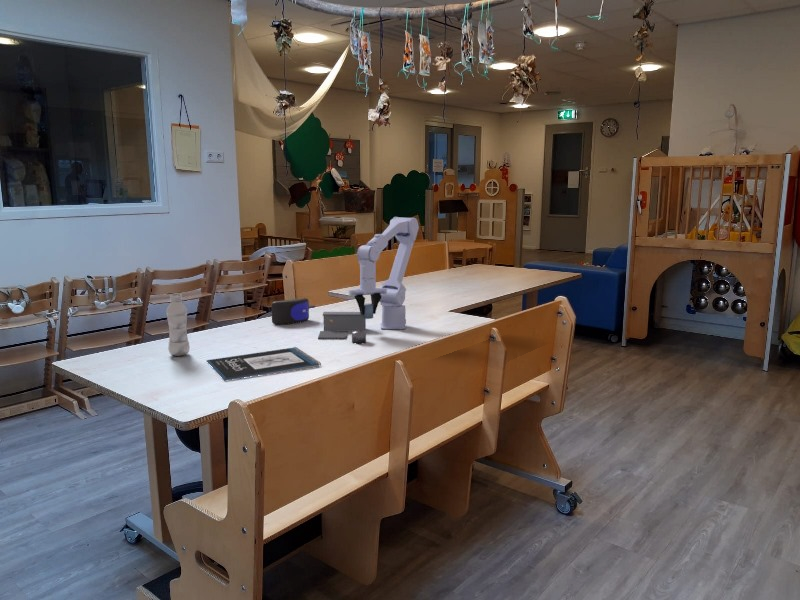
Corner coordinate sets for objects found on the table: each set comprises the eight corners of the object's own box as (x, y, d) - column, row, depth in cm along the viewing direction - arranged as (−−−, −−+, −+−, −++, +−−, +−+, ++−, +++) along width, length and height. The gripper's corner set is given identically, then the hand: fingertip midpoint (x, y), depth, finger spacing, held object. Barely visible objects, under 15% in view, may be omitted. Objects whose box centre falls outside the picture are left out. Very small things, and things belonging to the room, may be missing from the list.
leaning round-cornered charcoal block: (276, 326, 238) (275, 303, 237) (271, 324, 242) (270, 301, 240) (312, 321, 248) (312, 299, 246) (307, 319, 251) (307, 297, 250)
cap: (366, 340, 219) (366, 329, 218) (365, 344, 214) (365, 333, 213) (352, 340, 219) (352, 329, 218) (351, 344, 214) (351, 333, 213)
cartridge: (373, 316, 228) (373, 303, 227) (373, 318, 224) (373, 305, 223) (362, 316, 228) (362, 303, 227) (362, 318, 224) (362, 305, 223)
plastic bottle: (178, 359, 193) (174, 297, 189) (164, 355, 197) (160, 295, 193) (194, 354, 198) (191, 294, 195) (180, 351, 202) (177, 292, 198)
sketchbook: (206, 364, 191) (206, 357, 190) (296, 351, 206) (296, 345, 205) (224, 383, 172) (224, 376, 172) (322, 367, 188) (322, 361, 187)
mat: (346, 332, 230) (346, 331, 230) (345, 339, 220) (345, 337, 220) (320, 332, 230) (320, 330, 229) (317, 339, 220) (317, 337, 220)
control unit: (366, 328, 237) (366, 311, 236) (366, 331, 232) (366, 314, 231) (323, 328, 237) (323, 311, 235) (322, 331, 232) (322, 314, 230)
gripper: (381, 275, 230) (381, 310, 232) (345, 277, 224) (345, 313, 226) (389, 277, 224) (389, 313, 226) (352, 280, 218) (352, 317, 220)
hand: (367, 313), depth 226 cm, fingers closed on cartridge, 4 cm apart
